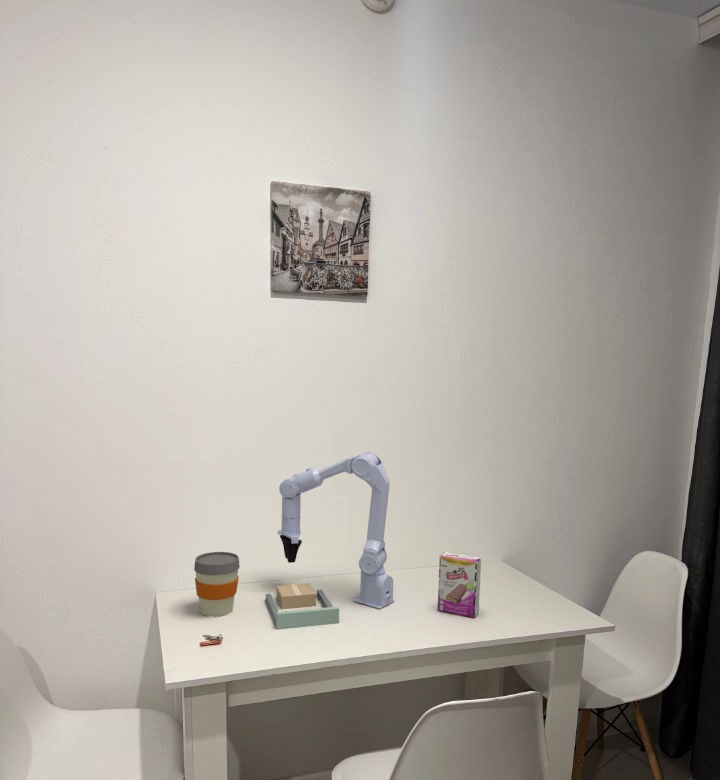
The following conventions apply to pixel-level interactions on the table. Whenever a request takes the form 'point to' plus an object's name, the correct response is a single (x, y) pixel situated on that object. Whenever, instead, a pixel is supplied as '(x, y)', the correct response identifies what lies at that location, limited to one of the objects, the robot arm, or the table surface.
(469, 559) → the candy bar box
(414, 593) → the table surface
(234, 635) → the table surface
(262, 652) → the table surface
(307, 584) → the carton
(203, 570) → the reusable coffee cup
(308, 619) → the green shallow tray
